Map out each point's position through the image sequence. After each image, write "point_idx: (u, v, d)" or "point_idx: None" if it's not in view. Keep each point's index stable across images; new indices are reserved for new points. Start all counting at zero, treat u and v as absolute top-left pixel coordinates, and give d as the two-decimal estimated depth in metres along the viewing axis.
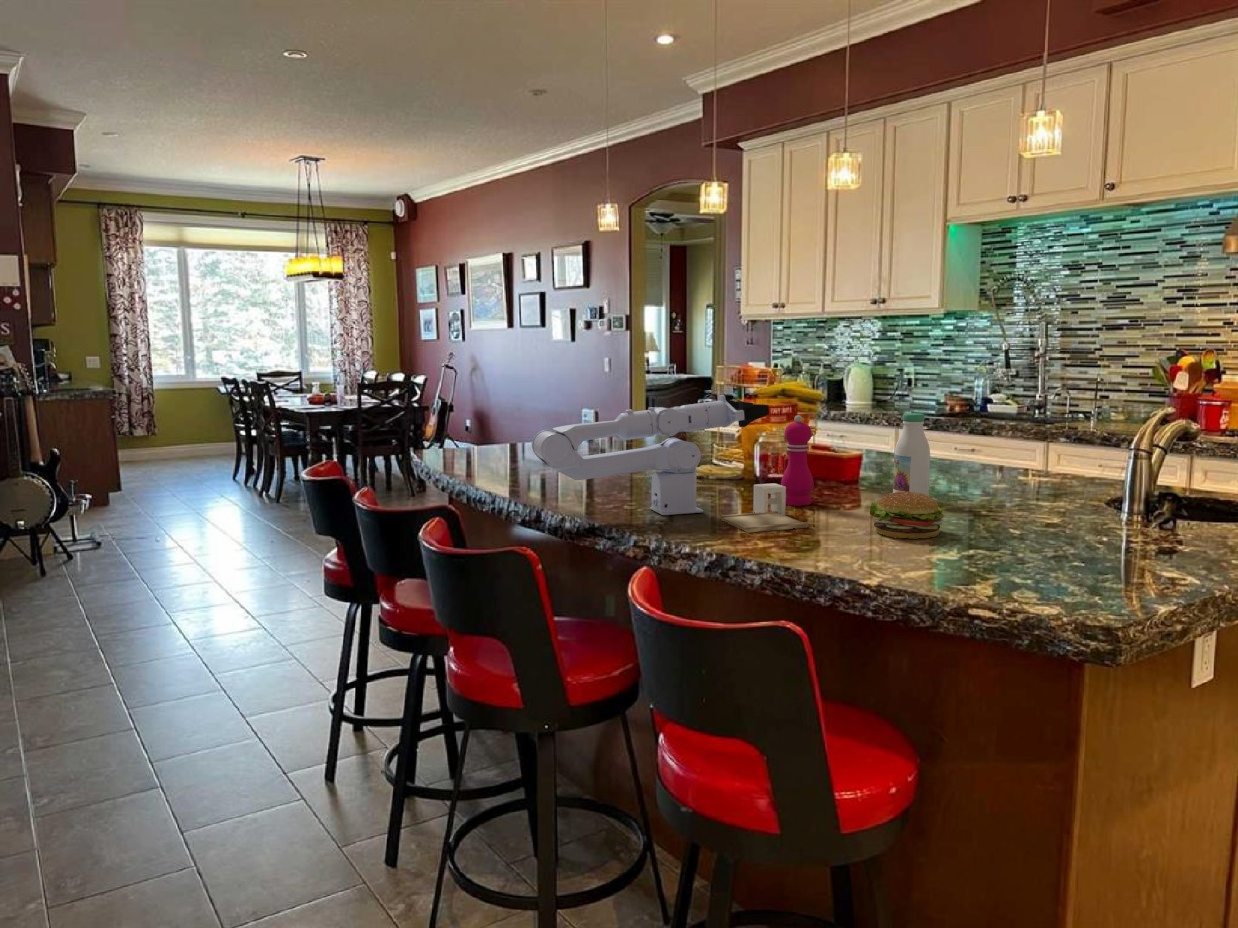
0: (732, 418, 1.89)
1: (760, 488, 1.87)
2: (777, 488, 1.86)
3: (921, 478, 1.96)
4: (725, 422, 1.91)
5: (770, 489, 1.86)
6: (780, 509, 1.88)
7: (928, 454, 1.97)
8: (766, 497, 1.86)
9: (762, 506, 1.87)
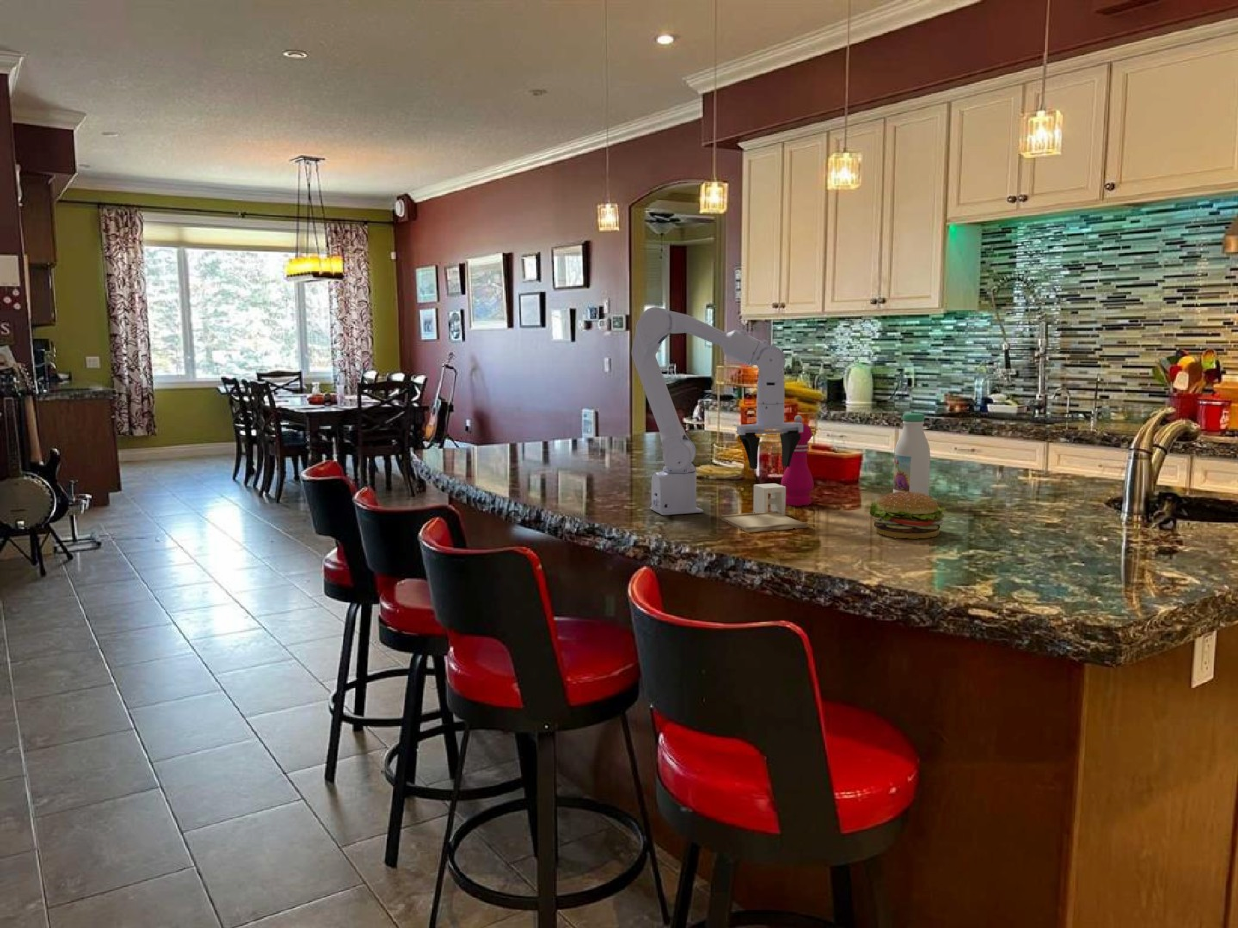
0: None
1: (760, 488, 1.87)
2: (777, 488, 1.86)
3: (921, 478, 1.96)
4: None
5: (770, 489, 1.86)
6: (780, 509, 1.88)
7: (928, 454, 1.97)
8: (766, 497, 1.86)
9: (762, 506, 1.87)
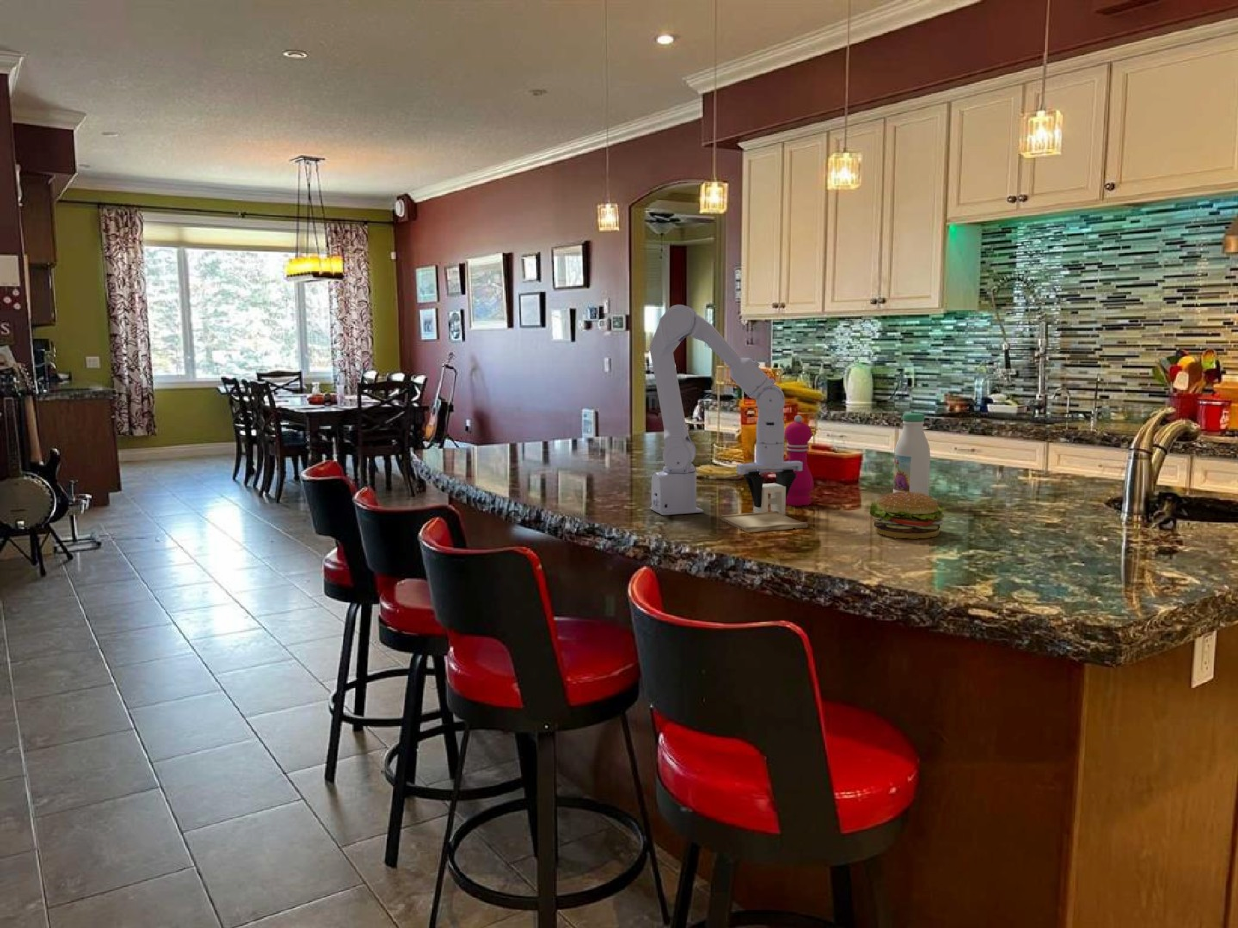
0: (747, 465, 1.87)
1: None
2: (777, 488, 1.86)
3: (921, 478, 1.96)
4: None
5: (770, 489, 1.86)
6: (780, 509, 1.88)
7: (928, 454, 1.97)
8: (766, 497, 1.86)
9: (762, 506, 1.87)
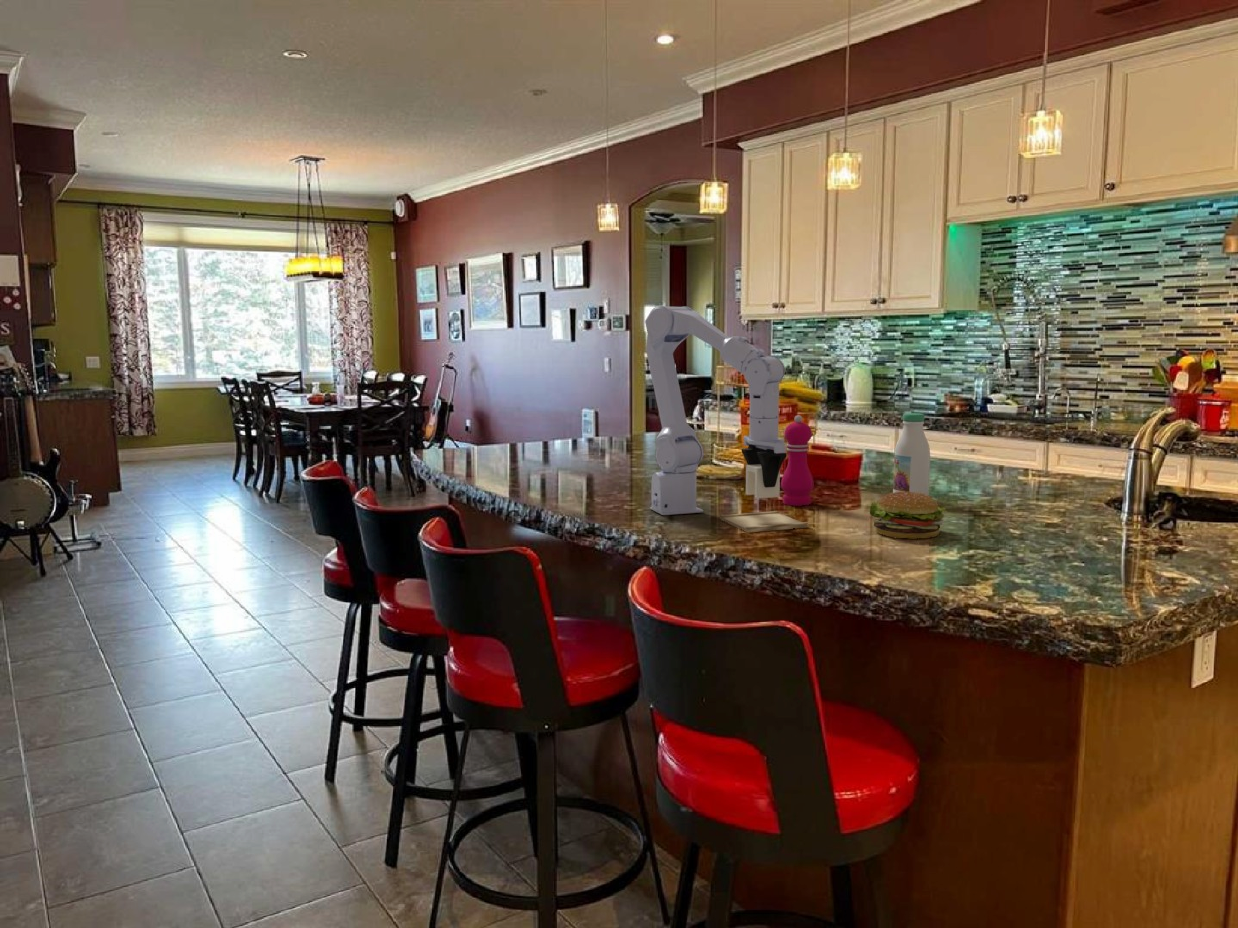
0: (771, 443, 1.72)
1: None
2: None
3: (921, 478, 1.96)
4: (761, 439, 1.74)
5: None
6: None
7: (928, 454, 1.97)
8: None
9: (776, 487, 1.76)
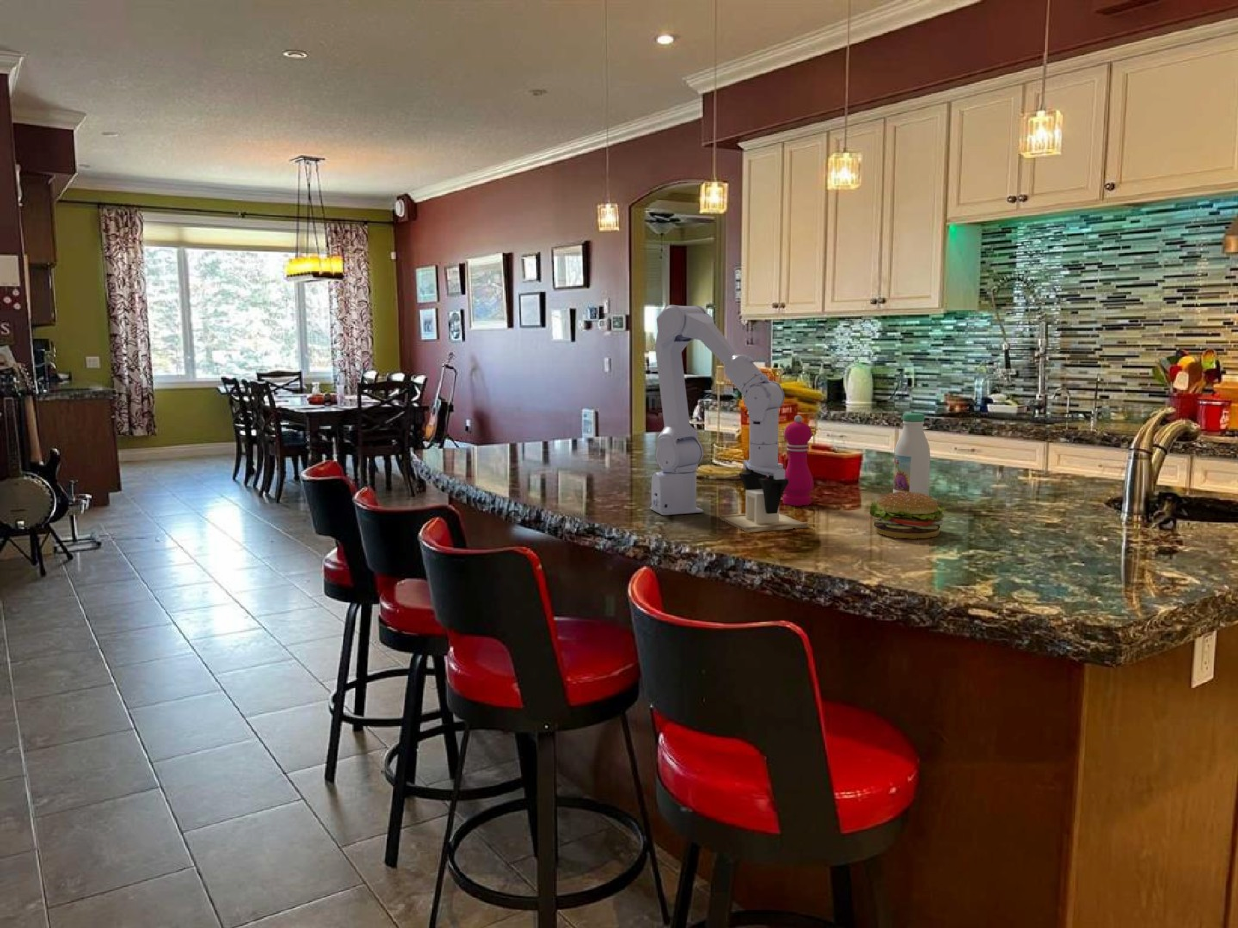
0: None
1: None
2: None
3: (921, 478, 1.96)
4: (760, 465, 1.75)
5: None
6: None
7: (928, 454, 1.97)
8: None
9: None
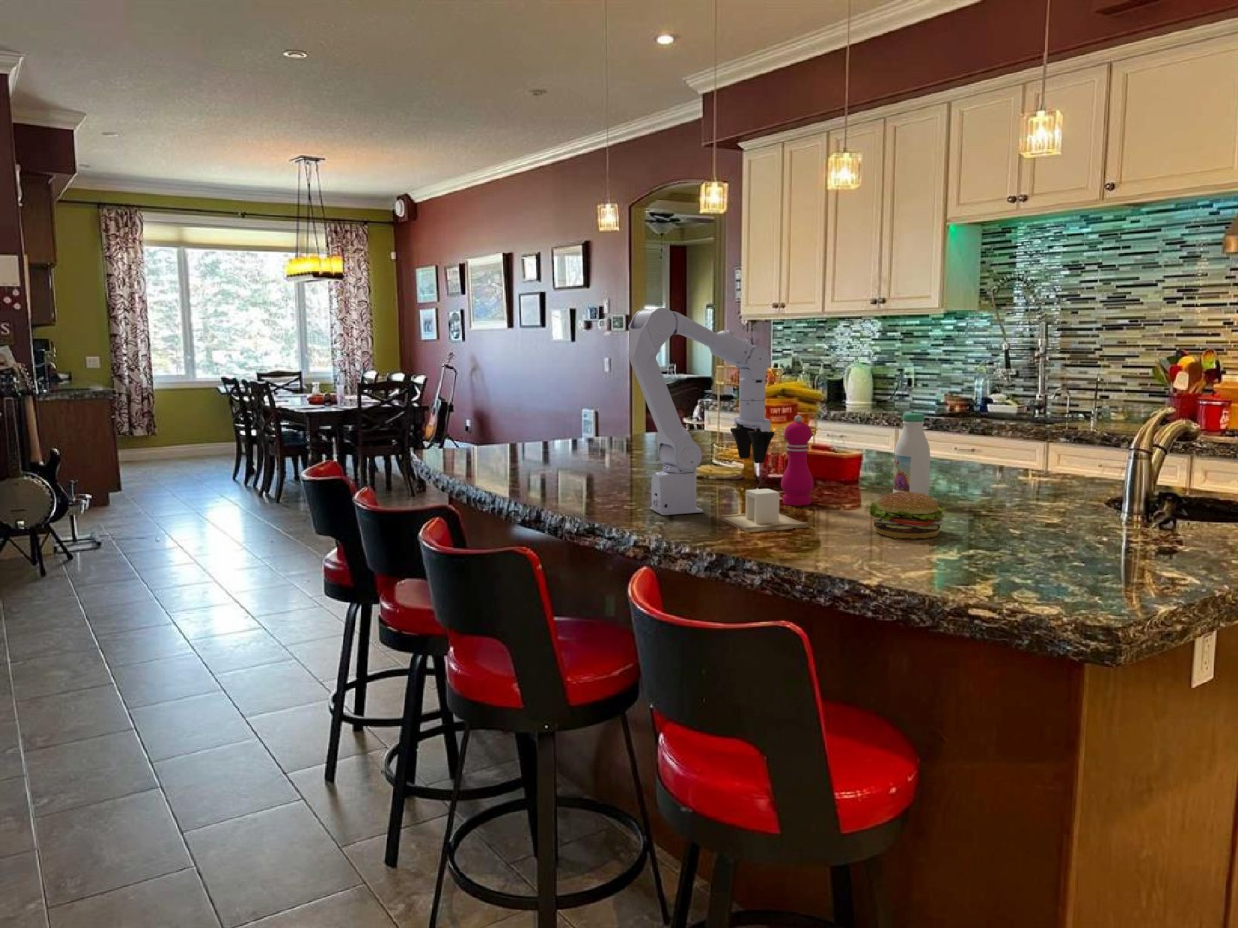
0: None
1: (771, 494, 1.76)
2: None
3: (921, 478, 1.96)
4: (749, 419, 1.94)
5: None
6: None
7: (928, 454, 1.97)
8: None
9: (775, 512, 1.77)
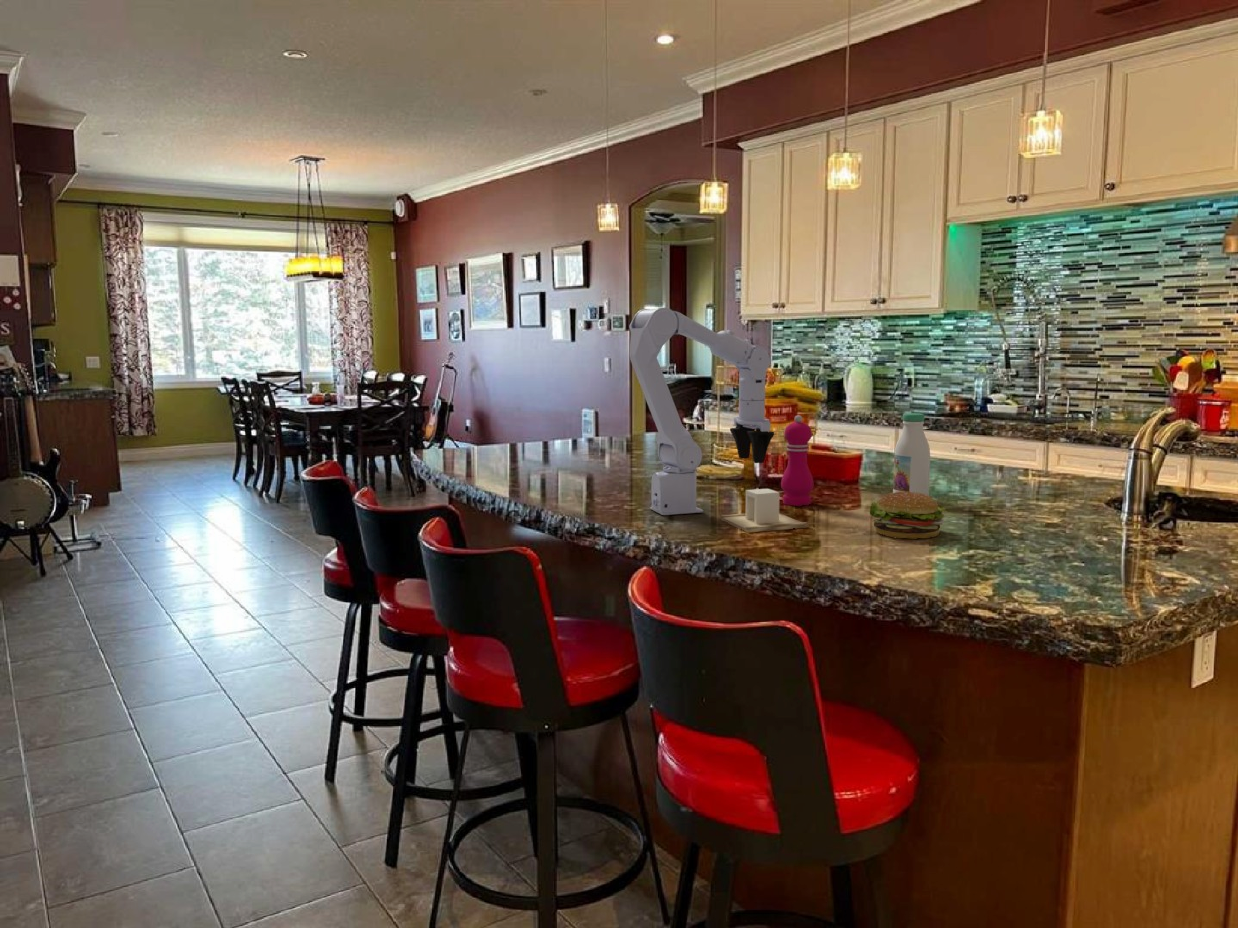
0: None
1: (771, 494, 1.76)
2: None
3: (921, 478, 1.96)
4: (749, 419, 1.95)
5: None
6: None
7: (928, 454, 1.97)
8: None
9: (775, 512, 1.77)
